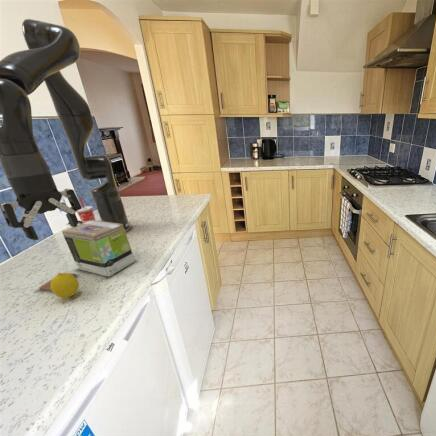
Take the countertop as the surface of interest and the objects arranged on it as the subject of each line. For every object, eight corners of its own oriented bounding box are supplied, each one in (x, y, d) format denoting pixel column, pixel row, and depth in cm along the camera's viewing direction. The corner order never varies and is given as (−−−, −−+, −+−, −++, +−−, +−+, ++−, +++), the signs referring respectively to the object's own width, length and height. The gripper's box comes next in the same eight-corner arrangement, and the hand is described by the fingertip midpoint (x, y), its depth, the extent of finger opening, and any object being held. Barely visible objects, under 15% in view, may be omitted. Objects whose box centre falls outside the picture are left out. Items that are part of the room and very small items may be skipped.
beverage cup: (79, 227, 113) (68, 199, 108) (93, 222, 119) (83, 195, 113) (87, 229, 111) (76, 200, 106) (101, 224, 116) (91, 196, 111)
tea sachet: (40, 290, 72) (38, 287, 72) (62, 275, 79) (61, 273, 78) (55, 290, 72) (53, 288, 71) (76, 276, 78) (75, 273, 78)
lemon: (67, 291, 72) (56, 268, 68) (87, 289, 72) (77, 267, 69) (52, 304, 67) (39, 280, 63) (73, 302, 67) (62, 279, 64)
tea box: (136, 261, 86) (124, 223, 80) (108, 278, 77) (92, 236, 71) (106, 254, 90) (92, 218, 84) (77, 269, 82) (59, 230, 76)
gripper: (56, 166, 66) (78, 221, 72) (-22, 178, 54) (12, 242, 60) (71, 167, 63) (93, 224, 69) (-8, 180, 51) (27, 247, 57)
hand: (55, 232), depth 65 cm, fingers open, 8 cm apart
